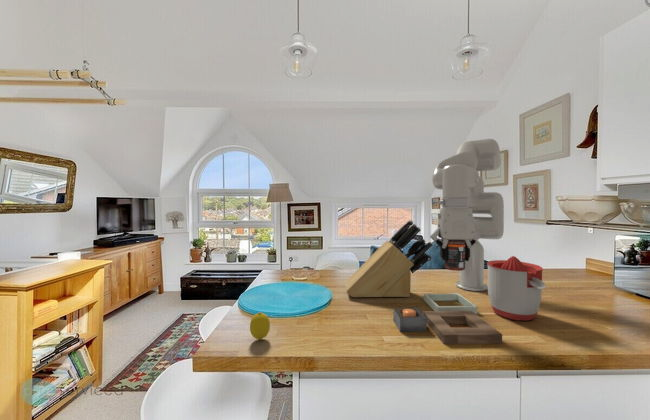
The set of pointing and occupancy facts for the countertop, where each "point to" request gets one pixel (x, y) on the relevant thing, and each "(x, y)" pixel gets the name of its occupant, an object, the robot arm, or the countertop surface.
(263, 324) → the lemon
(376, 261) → the knife block
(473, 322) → the square frame
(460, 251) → the supplement bottle
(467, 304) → the ring
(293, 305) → the countertop surface
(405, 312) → the button
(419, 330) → the button housing
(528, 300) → the citrus juicer
